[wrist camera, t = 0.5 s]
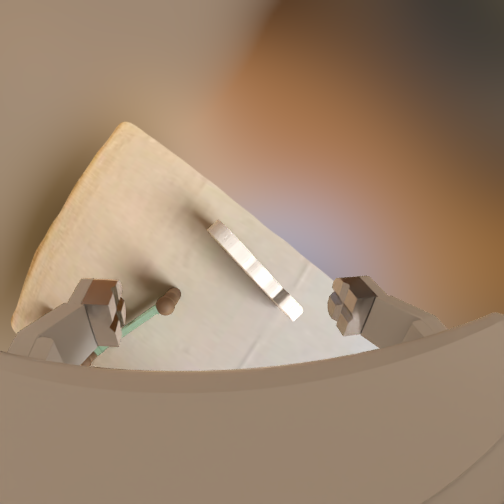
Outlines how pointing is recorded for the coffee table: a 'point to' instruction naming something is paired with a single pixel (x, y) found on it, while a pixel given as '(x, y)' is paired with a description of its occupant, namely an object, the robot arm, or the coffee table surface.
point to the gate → (132, 326)
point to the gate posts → (163, 306)
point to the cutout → (255, 270)
